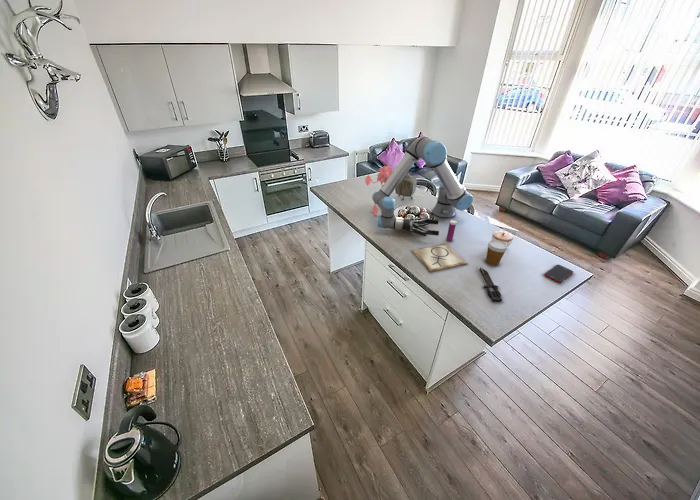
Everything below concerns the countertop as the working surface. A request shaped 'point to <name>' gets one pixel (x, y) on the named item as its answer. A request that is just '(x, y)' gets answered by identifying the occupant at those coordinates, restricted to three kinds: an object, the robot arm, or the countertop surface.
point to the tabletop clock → (406, 186)
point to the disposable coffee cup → (495, 252)
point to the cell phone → (558, 273)
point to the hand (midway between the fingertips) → (438, 227)
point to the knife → (491, 286)
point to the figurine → (382, 177)
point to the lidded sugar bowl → (502, 237)
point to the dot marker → (451, 230)
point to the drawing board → (439, 257)
